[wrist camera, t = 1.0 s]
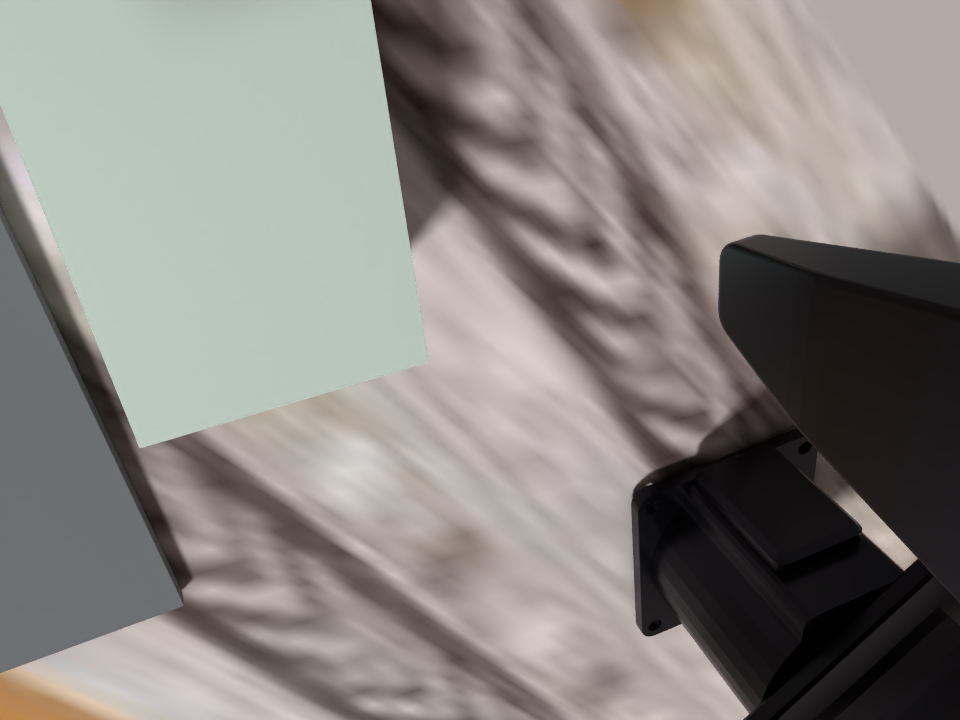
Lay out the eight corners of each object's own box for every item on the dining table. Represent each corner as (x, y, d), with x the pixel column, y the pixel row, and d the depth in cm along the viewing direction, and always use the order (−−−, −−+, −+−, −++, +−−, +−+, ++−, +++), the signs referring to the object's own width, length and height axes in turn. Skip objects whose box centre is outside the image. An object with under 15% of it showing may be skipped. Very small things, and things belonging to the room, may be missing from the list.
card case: (374, 277, 20) (428, 362, 17) (129, 342, 19) (139, 448, 16) (287, -176, 15) (343, -175, 12) (-52, -132, 14) (-90, -118, 11)
